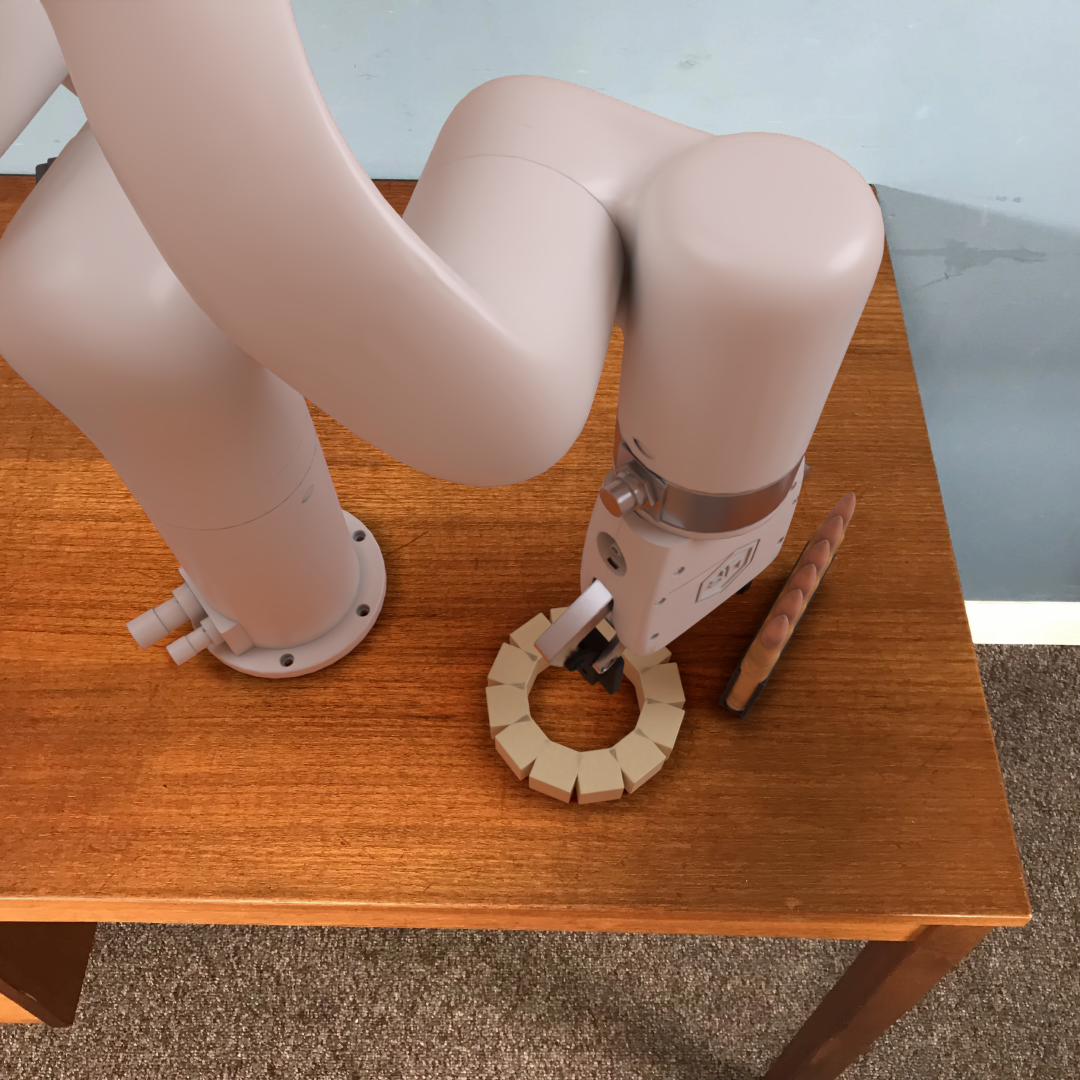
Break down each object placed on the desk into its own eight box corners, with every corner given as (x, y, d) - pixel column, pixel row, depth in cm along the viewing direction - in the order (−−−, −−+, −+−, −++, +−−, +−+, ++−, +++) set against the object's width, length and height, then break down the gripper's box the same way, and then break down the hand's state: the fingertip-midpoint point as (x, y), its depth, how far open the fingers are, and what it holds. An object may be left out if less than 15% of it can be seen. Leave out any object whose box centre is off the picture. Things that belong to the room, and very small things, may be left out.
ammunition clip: (744, 719, 56) (793, 640, 46) (716, 704, 56) (759, 621, 46) (815, 588, 61) (875, 489, 50) (790, 574, 61) (843, 473, 51)
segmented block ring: (569, 844, 52) (571, 835, 50) (451, 691, 57) (448, 677, 55) (717, 723, 56) (724, 710, 54) (595, 589, 60) (597, 571, 58)
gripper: (603, 630, 33) (587, 767, 48) (920, 394, 38) (817, 584, 53) (480, 493, 36) (501, 662, 51) (789, 292, 41) (727, 498, 56)
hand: (662, 622), depth 52 cm, fingers open, 9 cm apart
